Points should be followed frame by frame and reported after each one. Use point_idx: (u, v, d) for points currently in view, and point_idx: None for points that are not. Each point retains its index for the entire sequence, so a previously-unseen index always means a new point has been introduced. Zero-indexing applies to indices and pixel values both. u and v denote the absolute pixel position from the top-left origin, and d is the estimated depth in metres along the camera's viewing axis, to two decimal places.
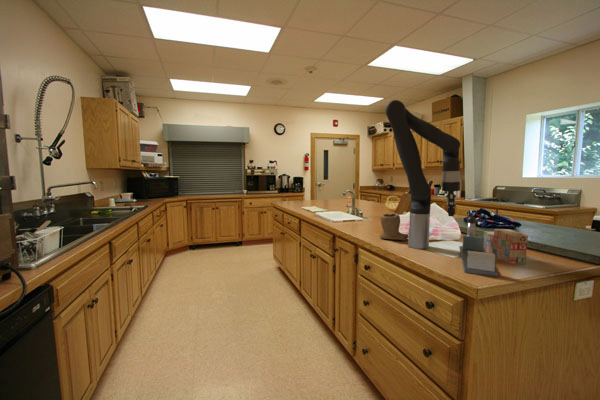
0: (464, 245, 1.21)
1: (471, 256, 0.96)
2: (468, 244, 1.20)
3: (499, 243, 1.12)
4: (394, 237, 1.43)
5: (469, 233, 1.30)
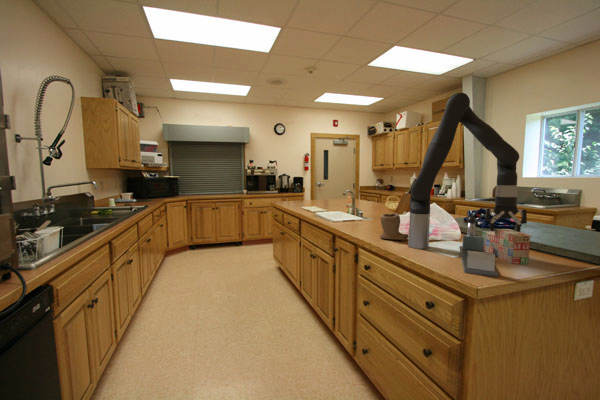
0: (464, 245, 1.21)
1: (471, 256, 0.96)
2: (468, 244, 1.20)
3: (501, 243, 1.12)
4: (394, 237, 1.43)
5: (469, 233, 1.30)
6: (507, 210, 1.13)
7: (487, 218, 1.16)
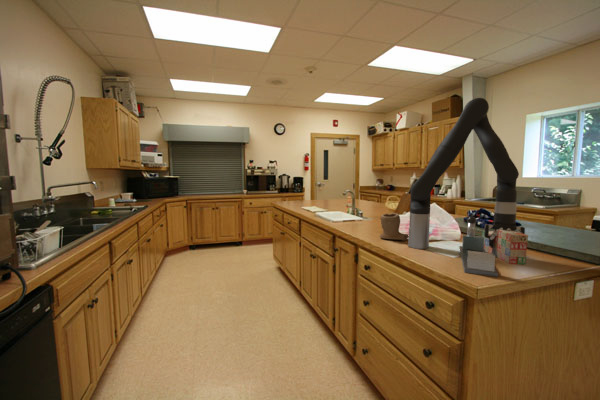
0: (464, 245, 1.21)
1: (471, 256, 0.96)
2: (468, 244, 1.20)
3: (499, 243, 1.13)
4: (394, 237, 1.43)
5: (469, 233, 1.30)
6: (506, 227, 1.13)
7: (486, 234, 1.17)
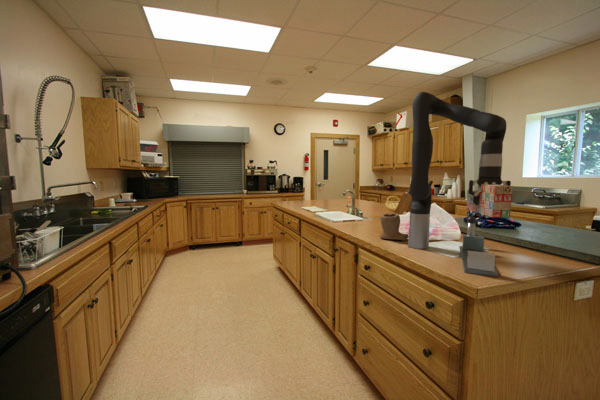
0: (464, 245, 1.21)
1: (471, 256, 0.96)
2: (468, 244, 1.20)
3: (483, 198, 1.05)
4: (394, 237, 1.43)
5: (469, 233, 1.30)
6: (491, 181, 1.05)
7: (470, 191, 1.09)
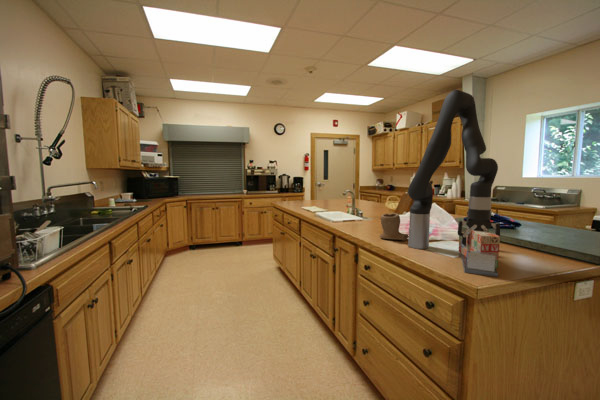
0: None
1: (471, 256, 0.96)
2: None
3: (472, 244, 1.04)
4: (394, 237, 1.43)
5: None
6: (480, 224, 1.04)
7: (459, 231, 1.08)
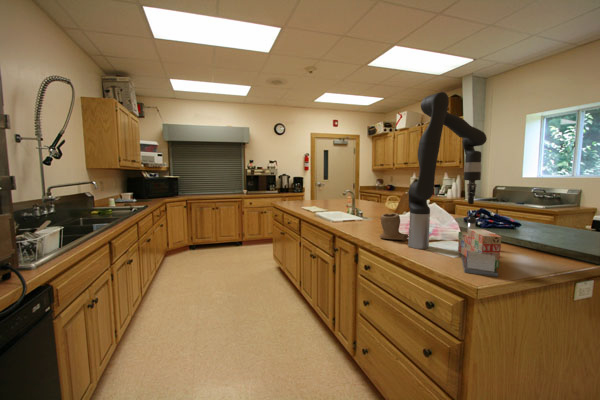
0: None
1: (471, 256, 0.96)
2: None
3: (472, 244, 1.04)
4: (394, 237, 1.43)
5: None
6: None
7: (474, 193, 1.33)
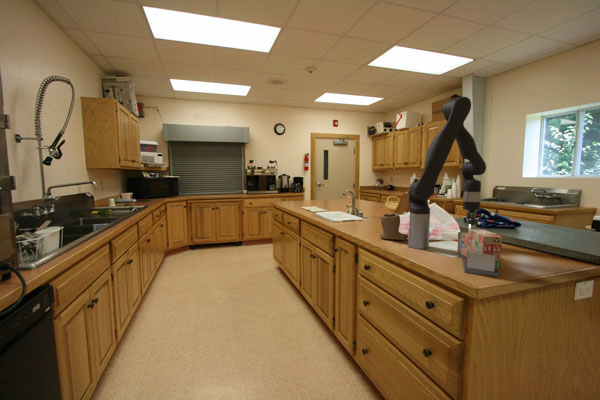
0: None
1: (471, 256, 0.96)
2: None
3: (473, 245, 1.04)
4: (394, 237, 1.43)
5: None
6: None
7: None
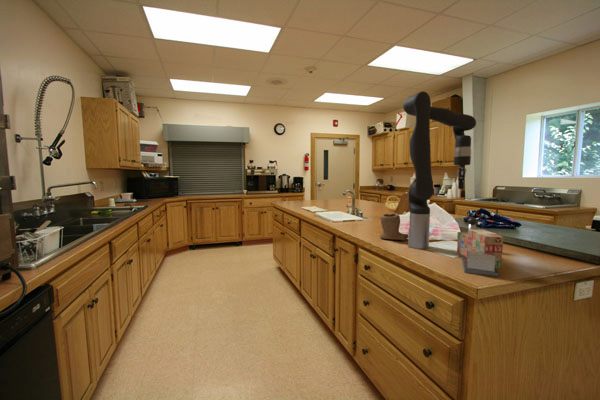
0: None
1: (471, 256, 0.96)
2: None
3: (473, 245, 1.03)
4: (394, 237, 1.43)
5: None
6: None
7: None
